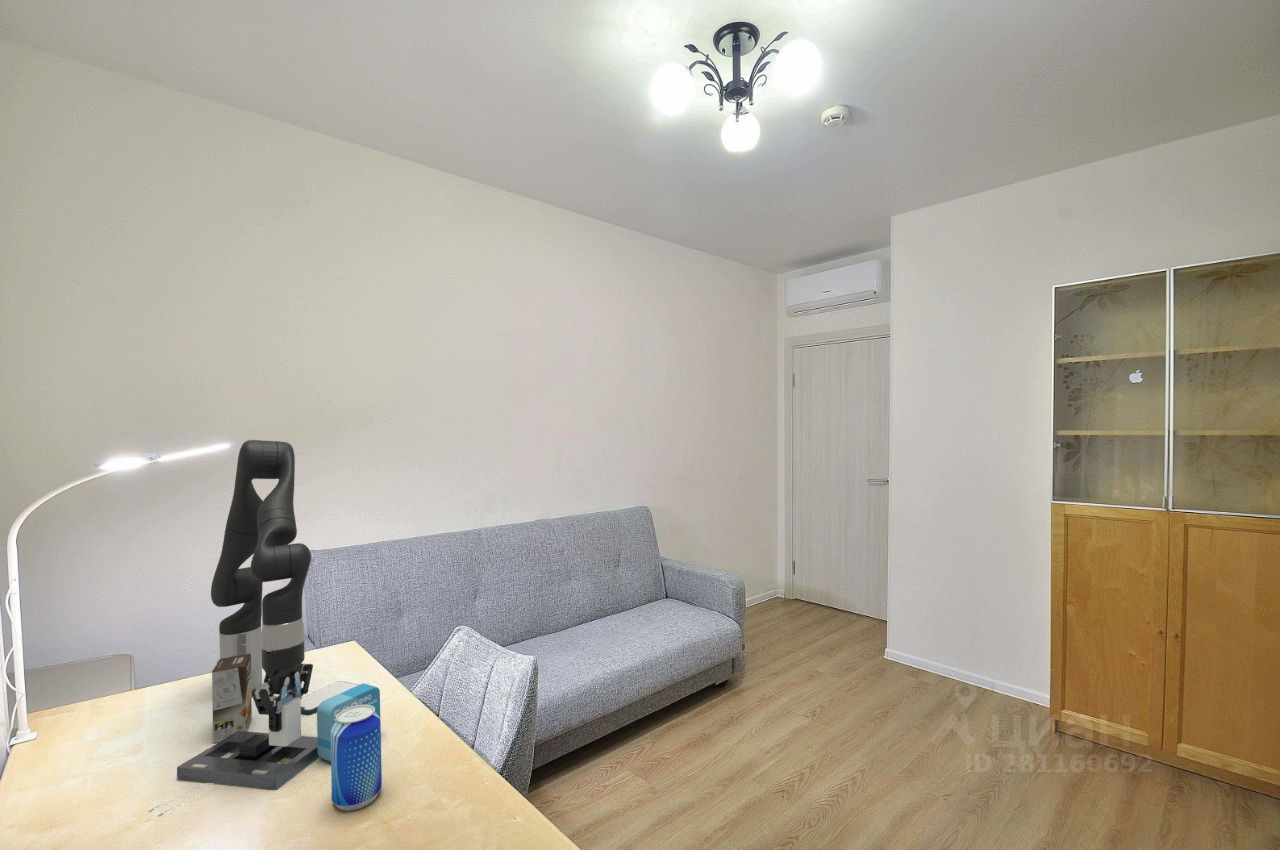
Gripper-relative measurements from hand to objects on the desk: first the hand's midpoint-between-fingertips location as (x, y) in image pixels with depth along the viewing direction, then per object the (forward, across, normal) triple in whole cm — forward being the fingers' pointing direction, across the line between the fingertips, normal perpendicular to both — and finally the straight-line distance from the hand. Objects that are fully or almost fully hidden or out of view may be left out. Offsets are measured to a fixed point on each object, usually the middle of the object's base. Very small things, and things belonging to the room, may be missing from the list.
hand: (284, 724), depth 118 cm
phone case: (+9, -28, -14) cm, 33 cm away
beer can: (+9, +7, +22) cm, 25 cm away
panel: (+9, 0, -7) cm, 11 cm away
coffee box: (+9, -11, -24) cm, 28 cm away
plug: (+3, 0, 0) cm, 3 cm away
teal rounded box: (+9, -8, +9) cm, 15 cm away
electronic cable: (+9, +12, -11) cm, 19 cm away
